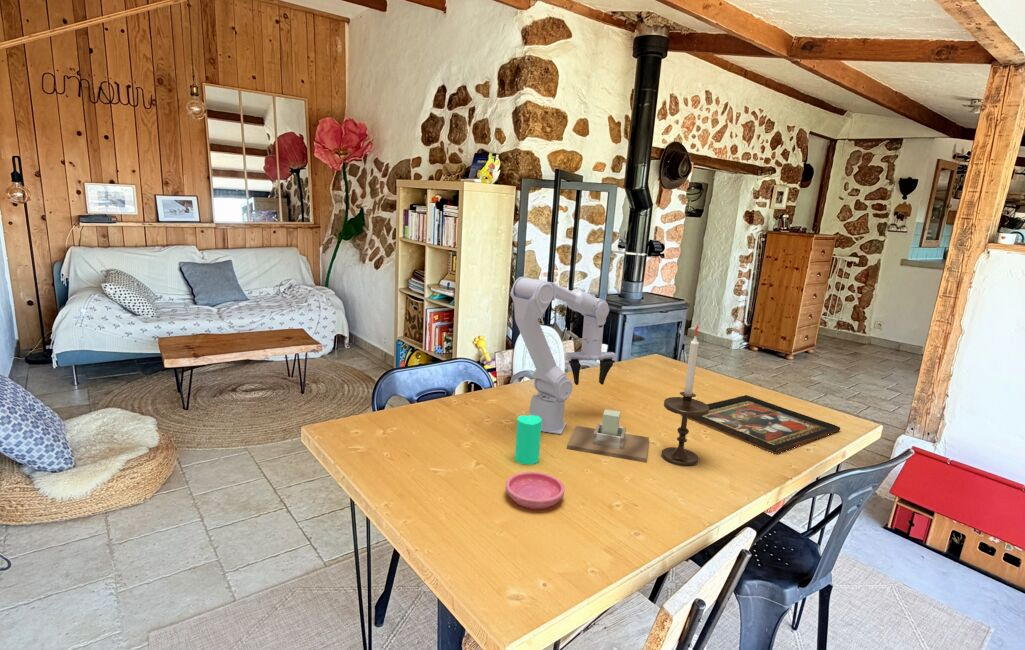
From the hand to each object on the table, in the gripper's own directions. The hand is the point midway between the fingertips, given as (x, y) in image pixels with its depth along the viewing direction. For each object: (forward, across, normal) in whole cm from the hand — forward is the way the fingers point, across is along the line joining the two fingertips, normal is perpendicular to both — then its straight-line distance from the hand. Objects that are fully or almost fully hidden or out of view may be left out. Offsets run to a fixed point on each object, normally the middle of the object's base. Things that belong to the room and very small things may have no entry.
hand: (588, 383), depth 164 cm
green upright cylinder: (+10, -24, -27) cm, 37 cm away
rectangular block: (+9, 0, -20) cm, 22 cm away
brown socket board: (+10, 0, -20) cm, 22 cm away
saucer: (+10, -26, -45) cm, 53 cm away
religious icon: (+12, +53, -7) cm, 54 cm away
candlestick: (+11, +16, -28) cm, 34 cm away
